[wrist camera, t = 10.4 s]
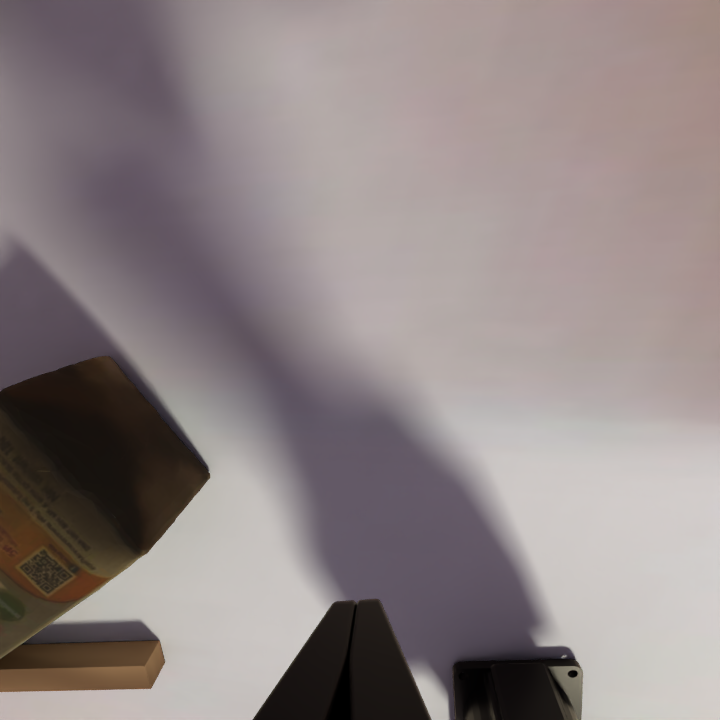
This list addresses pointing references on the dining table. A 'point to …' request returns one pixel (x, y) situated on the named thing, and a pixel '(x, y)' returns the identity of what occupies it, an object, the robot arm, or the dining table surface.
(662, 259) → the dining table surface
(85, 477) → the beverage carton
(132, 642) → the angled bracket
